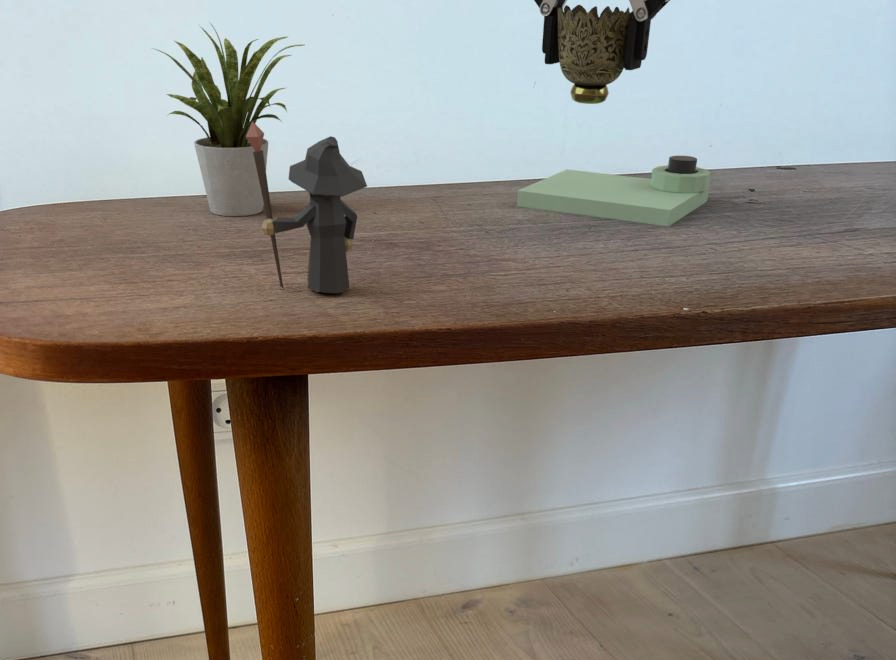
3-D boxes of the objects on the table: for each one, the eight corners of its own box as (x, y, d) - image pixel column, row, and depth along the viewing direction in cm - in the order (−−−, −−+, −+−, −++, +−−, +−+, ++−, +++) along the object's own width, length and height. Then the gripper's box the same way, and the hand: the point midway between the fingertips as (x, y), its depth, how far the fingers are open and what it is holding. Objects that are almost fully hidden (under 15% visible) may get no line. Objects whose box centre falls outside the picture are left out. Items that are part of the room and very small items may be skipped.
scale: (711, 201, 110) (716, 168, 109) (671, 227, 101) (677, 192, 99) (566, 184, 117) (569, 152, 115) (516, 207, 107) (518, 173, 105)
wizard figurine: (349, 276, 86) (345, 113, 79) (378, 294, 81) (377, 124, 75) (252, 288, 82) (239, 119, 76) (277, 308, 78) (266, 131, 72)
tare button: (698, 173, 108) (700, 157, 107) (690, 178, 106) (692, 161, 105) (671, 170, 109) (674, 154, 109) (663, 175, 107) (665, 158, 107)
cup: (610, 110, 99) (621, 11, 94) (538, 103, 102) (545, 7, 97) (637, 100, 104) (648, 6, 100) (568, 94, 107) (576, 3, 103)
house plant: (336, 198, 109) (331, 16, 100) (301, 229, 98) (292, 27, 89) (205, 191, 111) (188, 12, 102) (156, 221, 100) (132, 23, 91)
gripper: (725, -164, 91) (692, 68, 101) (539, -161, 98) (525, 56, 108) (699, -170, 85) (667, 76, 95) (505, -166, 92) (493, 63, 102)
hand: (592, 64), depth 101 cm, fingers closed on cup, 7 cm apart
